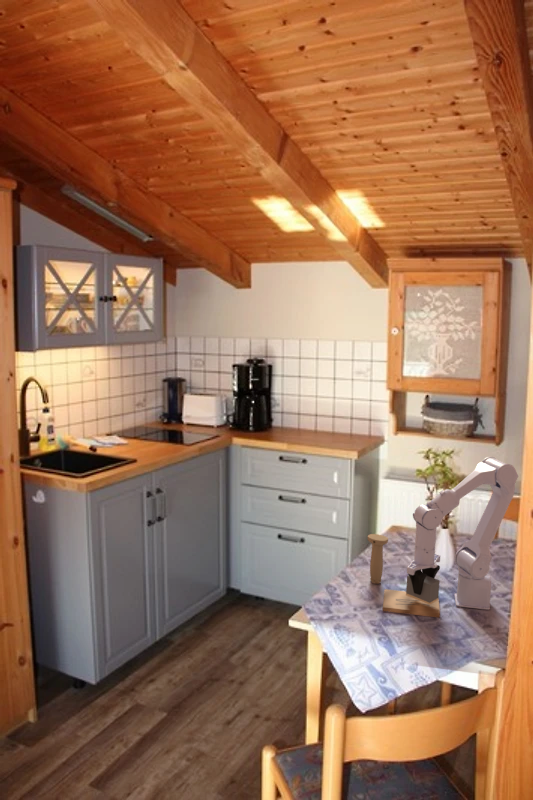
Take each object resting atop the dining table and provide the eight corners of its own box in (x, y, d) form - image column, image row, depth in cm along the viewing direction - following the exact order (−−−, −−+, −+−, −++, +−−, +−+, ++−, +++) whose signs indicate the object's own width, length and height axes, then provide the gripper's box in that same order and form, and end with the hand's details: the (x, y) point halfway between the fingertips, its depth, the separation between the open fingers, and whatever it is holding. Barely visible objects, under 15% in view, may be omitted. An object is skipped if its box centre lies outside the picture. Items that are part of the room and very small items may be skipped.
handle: (381, 587, 207) (383, 542, 205) (363, 582, 211) (365, 537, 209) (388, 582, 211) (390, 537, 209) (370, 577, 215) (372, 532, 212)
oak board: (438, 598, 200) (438, 595, 200) (439, 617, 189) (439, 613, 189) (384, 592, 204) (384, 589, 203) (382, 611, 192) (382, 607, 192)
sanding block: (438, 599, 193) (439, 580, 192) (429, 604, 190) (431, 585, 189) (414, 590, 198) (415, 571, 197) (405, 595, 195) (407, 575, 194)
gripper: (423, 557, 184) (420, 603, 186) (450, 544, 194) (447, 588, 196) (401, 550, 189) (399, 594, 191) (429, 537, 199) (426, 580, 201)
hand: (422, 590), depth 194 cm, fingers closed on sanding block, 5 cm apart
